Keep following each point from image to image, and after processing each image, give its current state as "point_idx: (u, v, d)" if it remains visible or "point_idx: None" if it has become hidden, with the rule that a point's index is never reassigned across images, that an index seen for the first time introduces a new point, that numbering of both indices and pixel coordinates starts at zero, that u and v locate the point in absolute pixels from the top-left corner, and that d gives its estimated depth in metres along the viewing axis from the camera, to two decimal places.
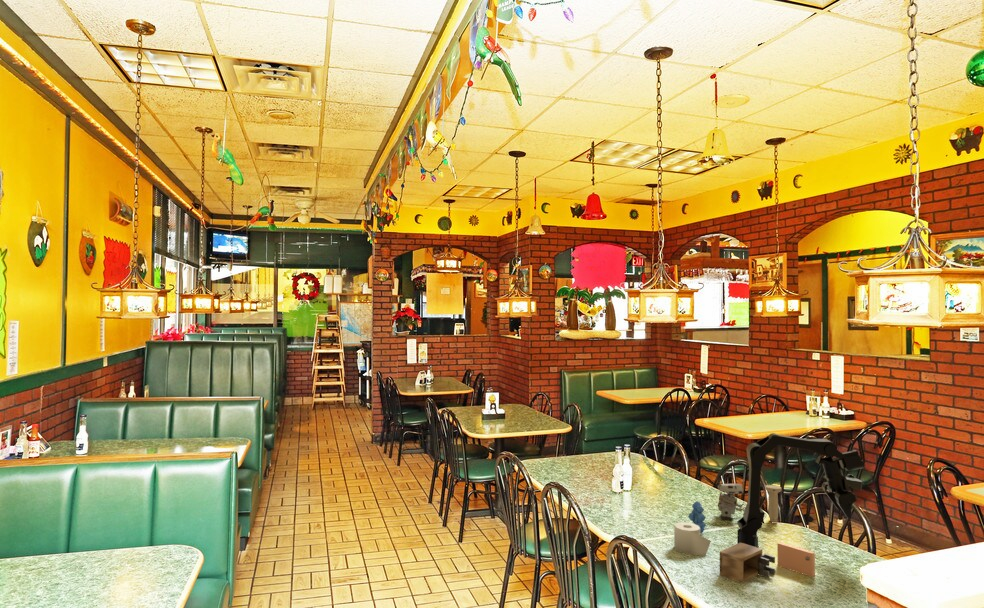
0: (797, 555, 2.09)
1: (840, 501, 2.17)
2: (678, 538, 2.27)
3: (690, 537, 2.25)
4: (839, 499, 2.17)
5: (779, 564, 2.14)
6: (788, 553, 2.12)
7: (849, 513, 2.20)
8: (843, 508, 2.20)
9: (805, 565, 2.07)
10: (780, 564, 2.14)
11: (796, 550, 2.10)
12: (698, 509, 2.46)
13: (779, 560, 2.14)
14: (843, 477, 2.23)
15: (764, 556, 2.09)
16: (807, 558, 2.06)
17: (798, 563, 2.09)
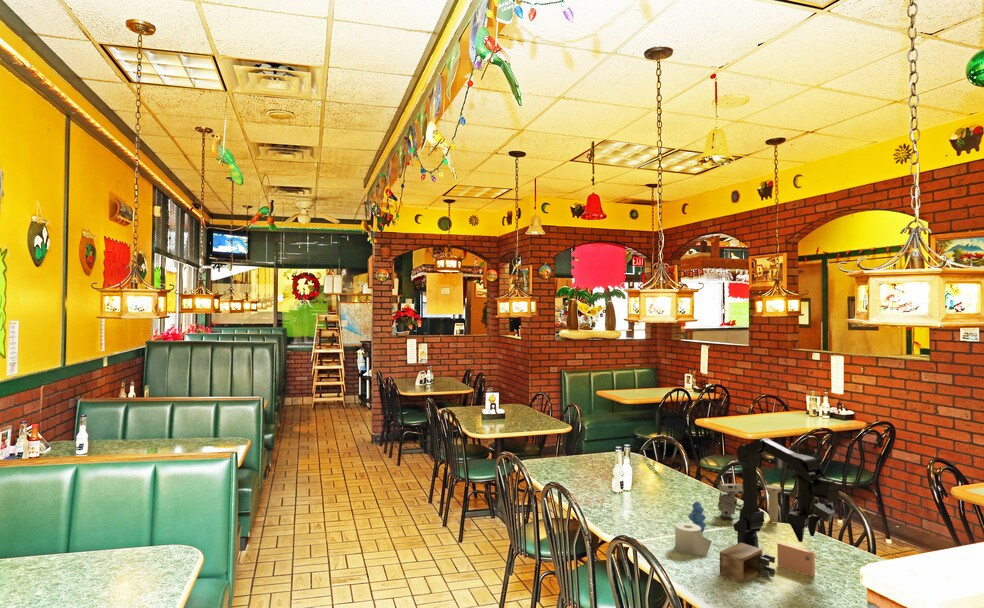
0: (797, 555, 2.09)
1: (786, 519, 2.05)
2: (678, 538, 2.27)
3: (691, 537, 2.24)
4: (786, 517, 2.05)
5: (779, 564, 2.14)
6: (788, 553, 2.12)
7: (800, 537, 2.05)
8: (794, 529, 2.06)
9: (805, 565, 2.07)
10: (780, 564, 2.14)
11: (796, 550, 2.10)
12: (698, 509, 2.46)
13: (779, 560, 2.14)
14: (810, 501, 2.05)
15: (764, 556, 2.09)
16: (807, 558, 2.06)
17: (798, 563, 2.09)
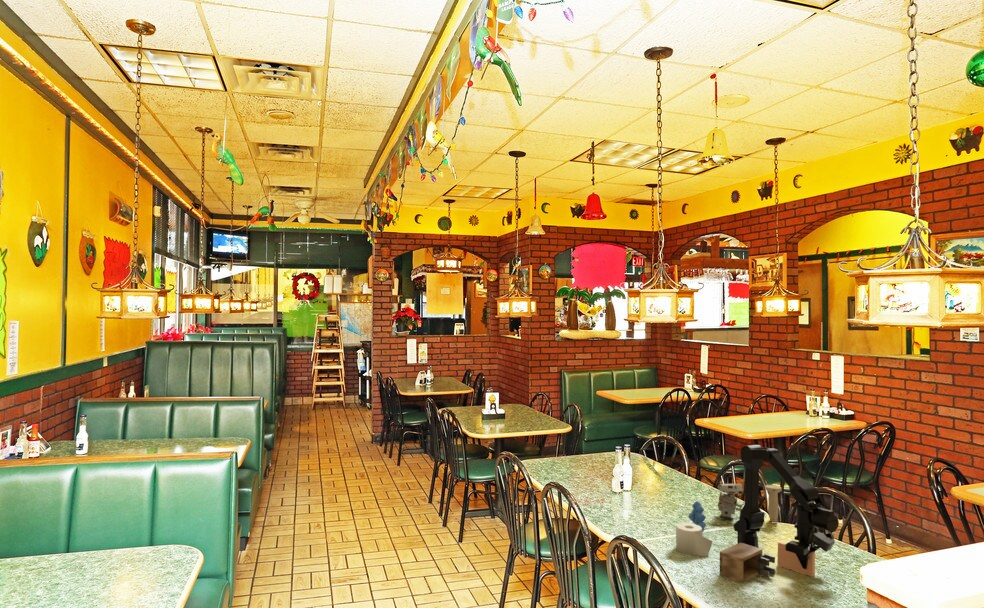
0: None
1: (786, 548, 2.04)
2: (679, 538, 2.27)
3: (692, 537, 2.24)
4: (785, 546, 2.05)
5: (779, 563, 2.14)
6: (788, 553, 2.12)
7: (804, 563, 2.07)
8: (798, 555, 2.08)
9: None
10: (780, 563, 2.14)
11: None
12: (698, 509, 2.46)
13: (779, 559, 2.14)
14: (809, 530, 2.05)
15: (764, 556, 2.09)
16: None
17: (798, 562, 2.09)
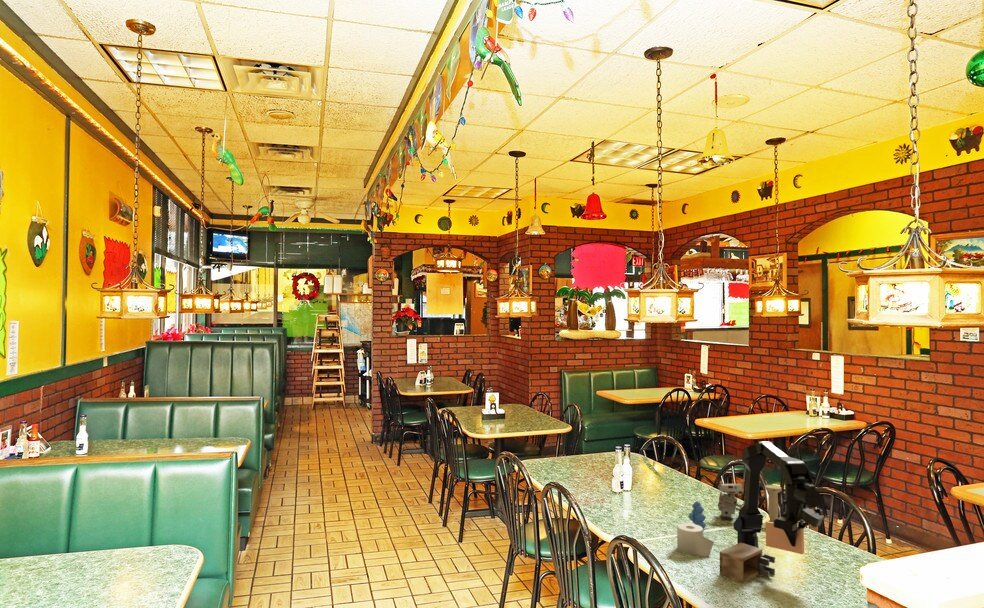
0: None
1: (774, 525, 1.98)
2: (681, 539, 2.27)
3: (693, 538, 2.24)
4: (773, 522, 1.98)
5: (767, 544, 2.07)
6: (776, 532, 2.05)
7: (793, 541, 2.00)
8: (786, 533, 2.01)
9: None
10: (769, 544, 2.07)
11: None
12: (698, 509, 2.46)
13: (767, 539, 2.07)
14: (798, 506, 1.98)
15: (764, 556, 2.09)
16: None
17: (787, 541, 2.02)
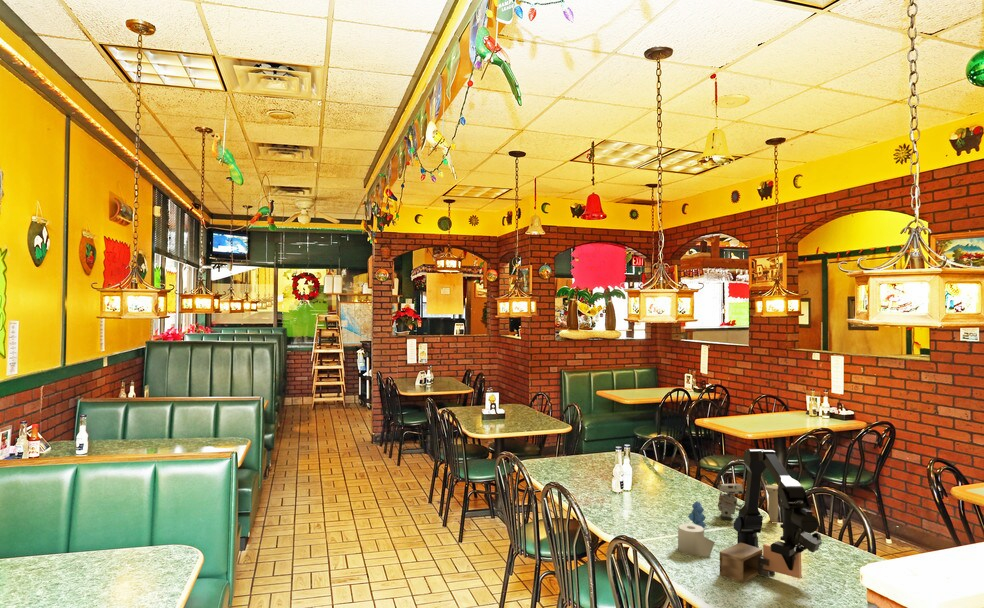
0: None
1: (771, 549, 1.97)
2: (681, 539, 2.26)
3: (694, 538, 2.23)
4: (771, 546, 1.97)
5: (765, 567, 2.06)
6: (774, 555, 2.05)
7: (790, 565, 1.99)
8: (784, 556, 2.00)
9: None
10: (766, 567, 2.06)
11: None
12: (698, 509, 2.46)
13: None
14: (796, 530, 1.97)
15: None
16: None
17: (784, 564, 2.02)
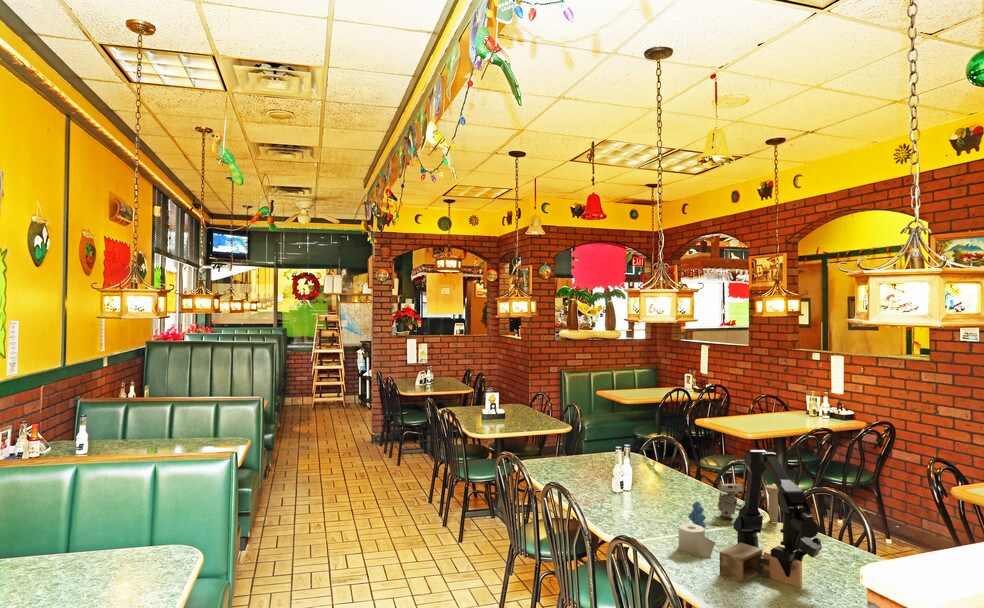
0: None
1: (771, 554, 1.97)
2: (682, 539, 2.26)
3: (695, 538, 2.23)
4: (771, 551, 1.97)
5: None
6: (774, 563, 2.04)
7: (787, 571, 1.98)
8: (781, 563, 1.99)
9: (792, 575, 1.99)
10: None
11: None
12: (698, 509, 2.46)
13: (765, 569, 2.06)
14: (796, 535, 1.97)
15: None
16: (794, 568, 1.98)
17: None
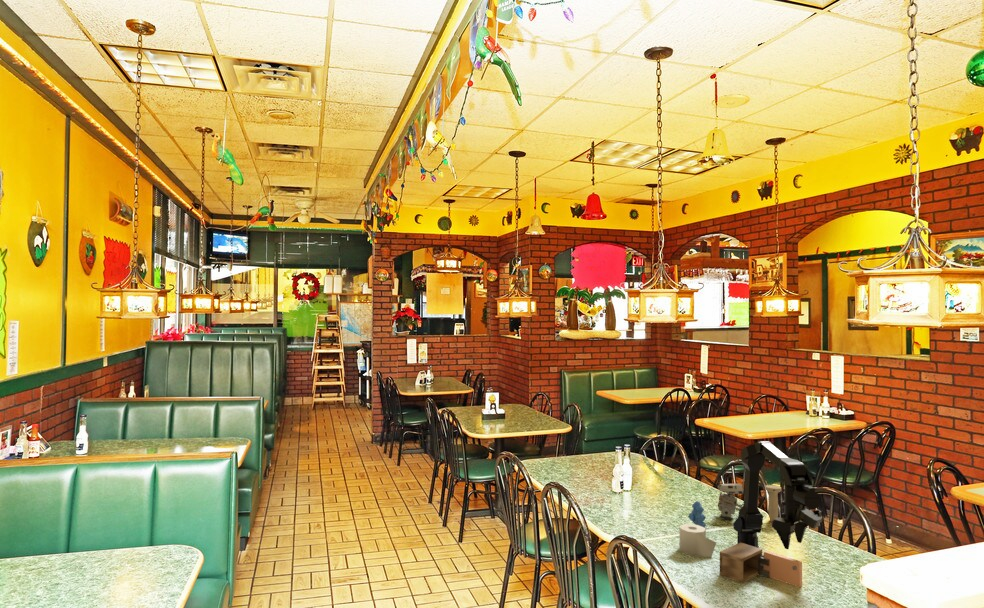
0: (784, 564, 2.01)
1: (772, 525, 1.99)
2: (683, 540, 2.26)
3: (696, 539, 2.23)
4: (772, 523, 1.99)
5: None
6: (774, 563, 2.04)
7: (786, 543, 1.99)
8: (780, 535, 2.00)
9: (792, 575, 1.99)
10: None
11: (783, 559, 2.02)
12: (698, 509, 2.46)
13: (765, 569, 2.06)
14: (797, 507, 2.00)
15: None
16: (794, 568, 1.98)
17: (785, 573, 2.01)
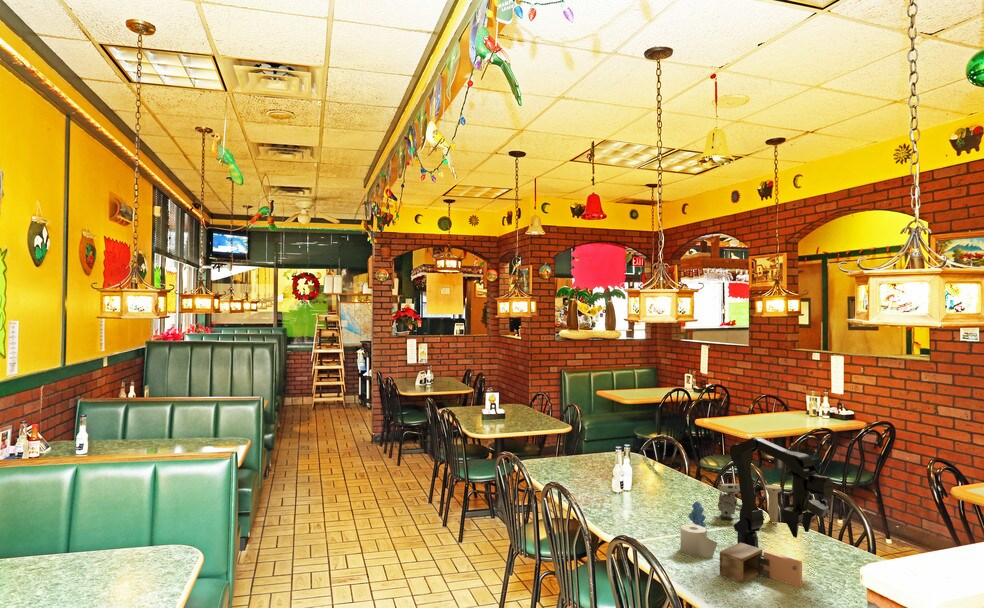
0: (784, 564, 2.01)
1: (781, 515, 2.09)
2: (684, 540, 2.25)
3: (697, 539, 2.23)
4: (781, 512, 2.09)
5: None
6: (774, 563, 2.04)
7: (794, 532, 2.09)
8: (788, 524, 2.10)
9: (792, 575, 1.99)
10: None
11: (783, 559, 2.02)
12: (698, 509, 2.46)
13: (765, 569, 2.06)
14: (804, 497, 2.09)
15: None
16: (794, 567, 1.98)
17: (785, 573, 2.01)
